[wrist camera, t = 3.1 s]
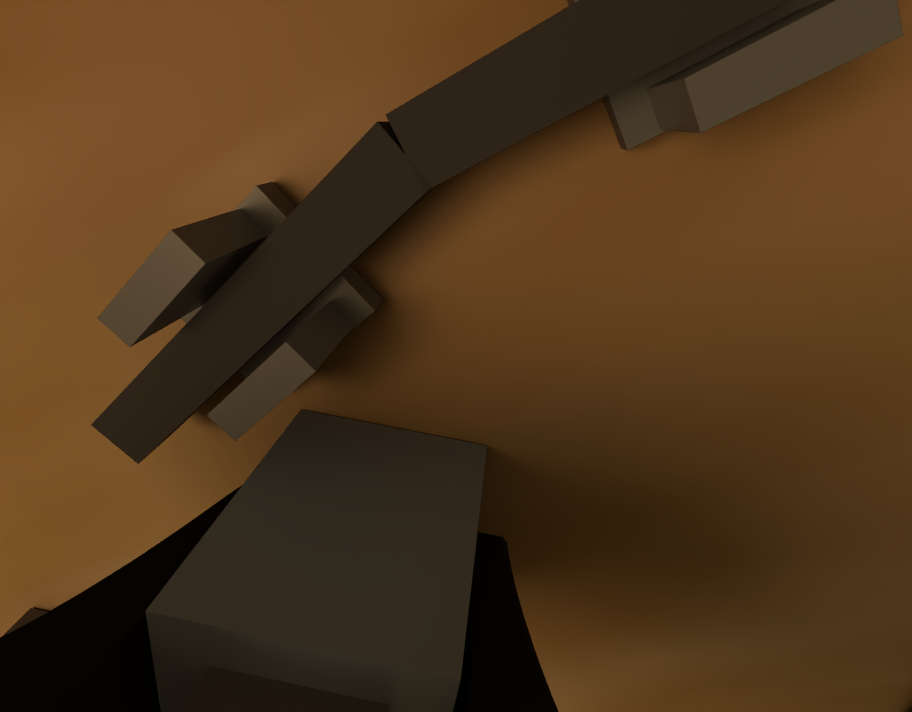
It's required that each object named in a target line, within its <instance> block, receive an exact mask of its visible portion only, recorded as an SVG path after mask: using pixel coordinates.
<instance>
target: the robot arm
mask: <svg viewBox="0 0 912 712" xmlns="http://www.w3.org/2000/svg"><path fill="white" fill-rule="evenodd" d="M241 487H242V486H240V487H239V488H237V489H236V490H234V491H233V492H231V493H230V494H229V495H227V496H226V497H224V498H223V499H221V500H220V501H219V502H217V503H216V504H214V505H213V506H212V507H210V508H209V509H207V510H206V511H205V512H203V513H202V514H200V515H199V516H198V517H196V518H195V519H193V520H192V521H190V522H189V523H188V524H186V525H185V526H183V527H182V528H180V529H179V530H178V531H176V532H175V533H173V534H172V535H170V536H169V537H167V538H166V539H164V540H163V541H161V542H160V543H158V544H157V545H155V546H154V547H152V548H151V549H149V550H148V551H147V552H145V553H144V554H142V555H141V556H139V557H138V558H136V559H134V560H133V561H131V562H130V563H128V564H127V565H125V566H123V567H122V568H120V569H119V570H117V571H115V572H114V573H112V574H111V575H109V576H107V577H106V578H104V579H103V580H101V581H99V582H98V583H96V584H95V585H93V586H91V587H90V588H88V589H87V590H85V591H83V592H82V593H80V594H78V595H77V596H75V597H73V598H71V599H70V600H68V601H66V602H65V603H63V604H61V605H59V606H58V607H56V608H54V609H52V610H51V611H49V612H47V613H45V614H44V615H42V616H40V617H38V618H36V619H34V620H32V621H31V622H29V623H27V624H25V625H23V626H21V627H19V628H18V629H16V630H14V631H12V632H10V633H8V634H6V635H4V636H2V637H0V712H161V710H160V703H159V697H158V690H157V684H156V677H155V671H154V664H153V658H152V651H151V645H150V638H149V632H148V625H147V619H146V612H145V611H146V610H147V608H148V607H149V606H150V604H151V603H152V602H153V600H154V599H155V598H156V597H157V595H158V594H159V593H160V591H161V590H162V589H163V588H164V586H165V585H166V584H167V582H168V581H169V580H170V578H171V577H172V576H173V575H174V573H175V572H176V571H177V569H178V568H179V567H180V566H181V564H182V563H183V562H184V560H185V559H186V558H187V556H188V555H189V554H190V553H191V551H192V550H193V549H194V547H195V546H196V545H197V544H198V542H199V541H200V540H201V538H202V537H203V536H204V534H205V533H206V532H207V531H208V529H209V528H210V527H211V525H212V524H213V523H214V522H215V520H216V519H217V518H218V516H219V515H220V514H221V512H222V511H223V510H224V509H225V507H226V506H227V505H228V503H229V502H230V501H231V500H232V498H233V497H234V496H235V494H236V493H237V492H238V491H239V489H240V488H241ZM453 712H558V709H557V707H556V705H555V702H554V700H553V697H552V695H551V692H550V689H549V687H548V684H547V682H546V679H545V677H544V674H543V671H542V669H541V666H540V663H539V660H538V658H537V655H536V652H535V649H534V646H533V643H532V640H531V637H530V634H529V631H528V628H527V624H526V621H525V618H524V615H523V612H522V608H521V605H520V602H519V598H518V594H517V590H516V586H515V583H514V578H513V574H512V570H511V565H510V560H509V554H508V548H507V542H506V541H505V539H504V538H503V537H500V536H495V535H490V534H485V533H480V532H477V540H476V549H475V558H474V567H473V576H472V584H471V593H470V602H469V611H468V620H467V628H466V637H465V646H464V655H463V664H462V672H461V680H460V684H459V688H458V693H457V697H456V701H455V705H454V709H453Z"/></svg>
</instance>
